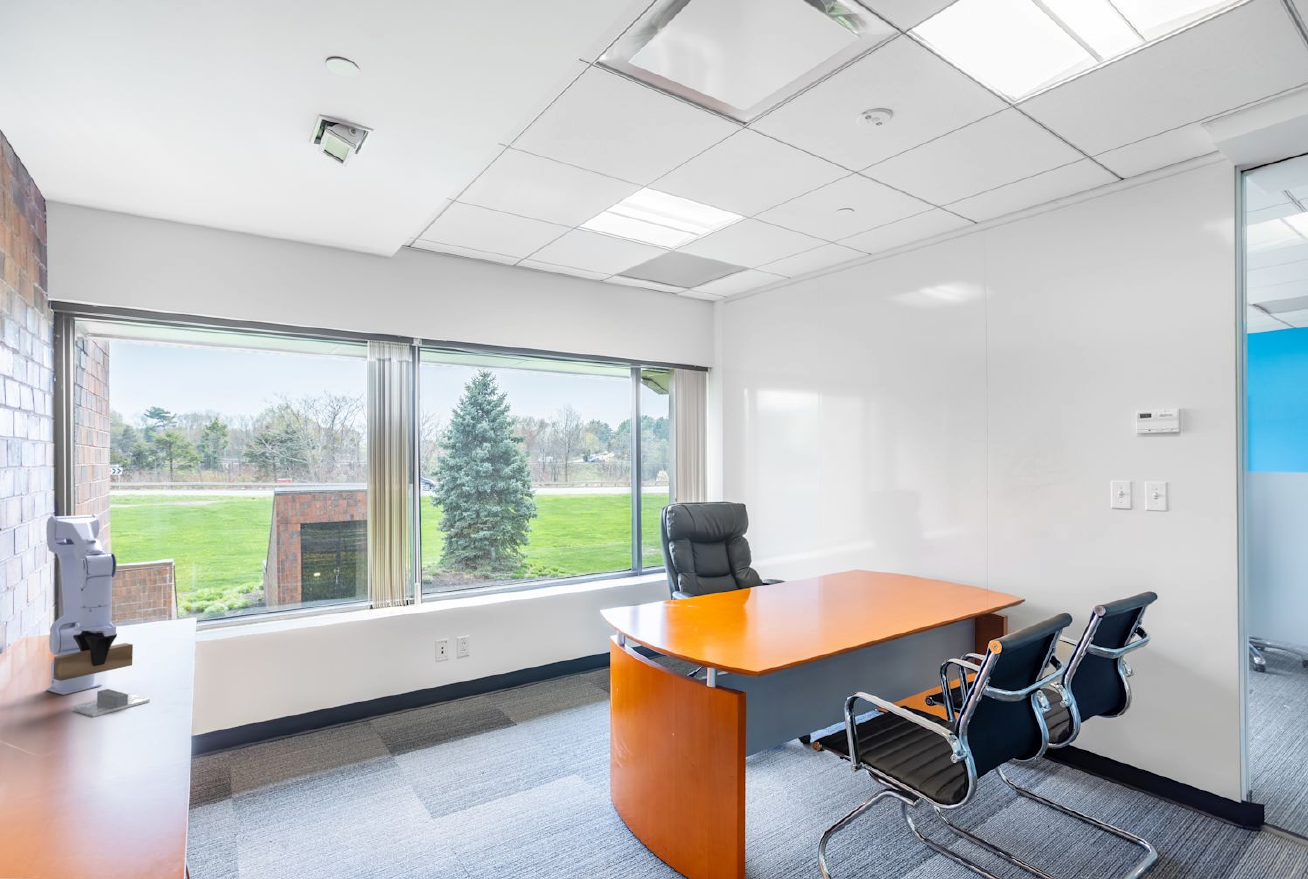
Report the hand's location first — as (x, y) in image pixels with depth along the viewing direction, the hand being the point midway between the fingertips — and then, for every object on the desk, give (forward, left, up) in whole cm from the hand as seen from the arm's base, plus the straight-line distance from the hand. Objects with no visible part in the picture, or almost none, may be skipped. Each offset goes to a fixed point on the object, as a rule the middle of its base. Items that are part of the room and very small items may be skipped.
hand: (94, 664), depth 159 cm
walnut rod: (0, 0, -2) cm, 2 cm away
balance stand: (+9, 0, -9) cm, 12 cm away
